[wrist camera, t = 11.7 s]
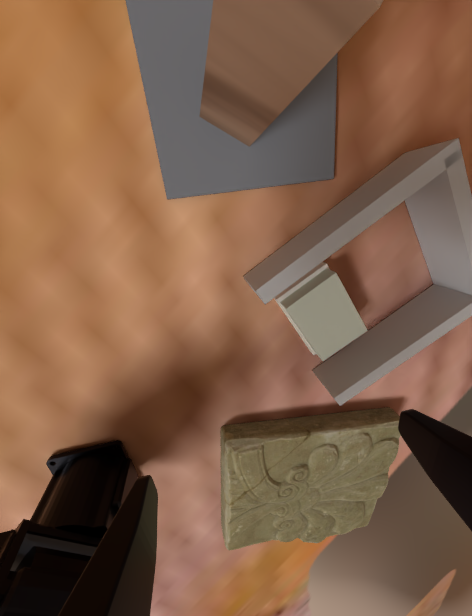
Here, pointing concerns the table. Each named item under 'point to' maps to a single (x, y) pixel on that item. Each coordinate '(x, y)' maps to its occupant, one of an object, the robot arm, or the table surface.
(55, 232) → the table surface
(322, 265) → the offcut
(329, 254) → the rack
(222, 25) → the brown rectangular block
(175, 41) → the mat
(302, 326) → the offcut
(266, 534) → the decorative tile
